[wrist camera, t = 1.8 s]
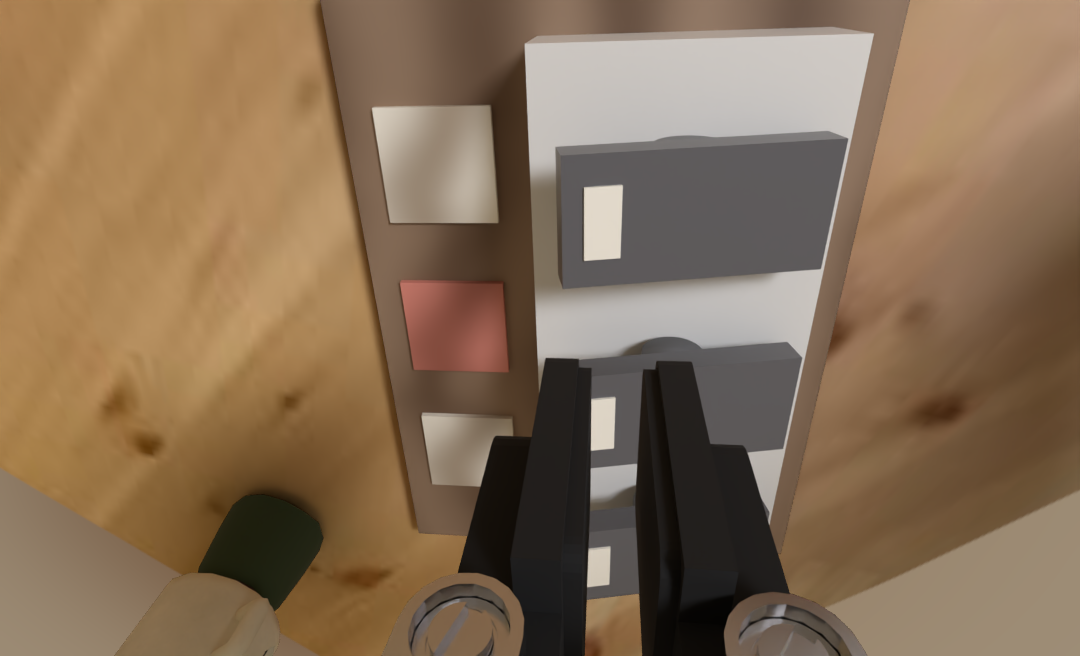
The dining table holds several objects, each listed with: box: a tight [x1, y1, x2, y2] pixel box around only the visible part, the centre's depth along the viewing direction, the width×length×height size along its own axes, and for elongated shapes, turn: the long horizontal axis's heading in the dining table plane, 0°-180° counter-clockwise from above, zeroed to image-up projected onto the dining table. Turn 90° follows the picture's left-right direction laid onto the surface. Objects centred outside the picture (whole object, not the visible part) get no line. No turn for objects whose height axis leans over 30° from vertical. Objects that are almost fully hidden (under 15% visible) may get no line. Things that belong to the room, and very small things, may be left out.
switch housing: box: [525, 27, 874, 524], centre depth 27 cm, size 11×26×4 cm, turn 2°
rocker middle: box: [579, 337, 802, 468], centre depth 24 cm, size 9×4×3 cm, turn 92°
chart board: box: [320, 0, 910, 554], centre depth 30 cm, size 22×30×2 cm
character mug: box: [114, 495, 323, 656], centre depth 35 cm, size 11×7×13 cm, turn 130°
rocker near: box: [555, 131, 848, 289], centre depth 20 cm, size 9×4×3 cm, turn 92°
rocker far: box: [587, 492, 770, 600], centre depth 28 cm, size 9×4×3 cm, turn 92°
